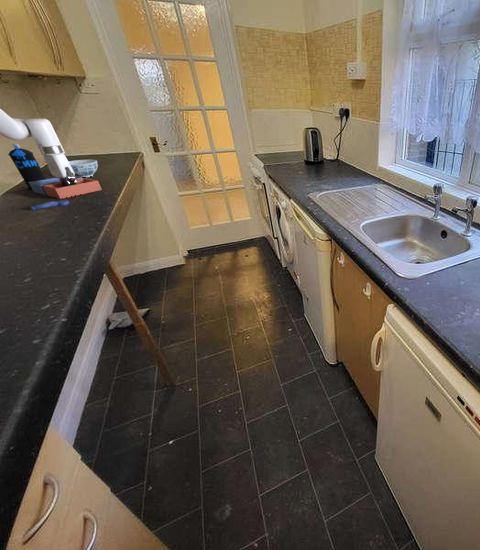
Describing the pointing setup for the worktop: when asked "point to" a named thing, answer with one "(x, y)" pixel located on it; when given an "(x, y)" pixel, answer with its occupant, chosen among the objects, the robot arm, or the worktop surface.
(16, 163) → the aerosol can
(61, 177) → the robot arm
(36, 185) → the blue bin
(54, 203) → the blue spoon
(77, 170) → the chinaware
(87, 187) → the red bin
